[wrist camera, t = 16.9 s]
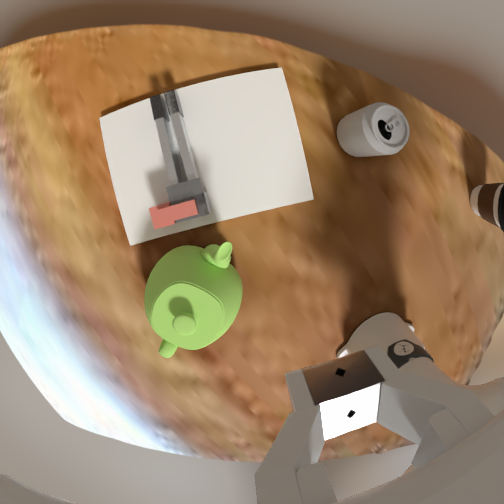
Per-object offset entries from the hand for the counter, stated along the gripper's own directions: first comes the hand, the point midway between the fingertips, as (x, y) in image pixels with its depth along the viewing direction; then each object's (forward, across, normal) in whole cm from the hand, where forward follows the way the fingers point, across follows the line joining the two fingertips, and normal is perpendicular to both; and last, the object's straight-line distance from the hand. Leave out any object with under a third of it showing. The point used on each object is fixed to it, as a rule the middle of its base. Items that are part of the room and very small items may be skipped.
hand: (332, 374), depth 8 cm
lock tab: (+35, +10, -4) cm, 37 cm away
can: (+37, -20, -9) cm, 43 cm away
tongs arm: (+35, +7, -14) cm, 38 cm away
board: (+37, +5, -11) cm, 39 cm away
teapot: (+37, +11, +9) cm, 40 cm away
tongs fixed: (+36, +8, -11) cm, 38 cm away
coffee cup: (+37, -51, +7) cm, 64 cm away
